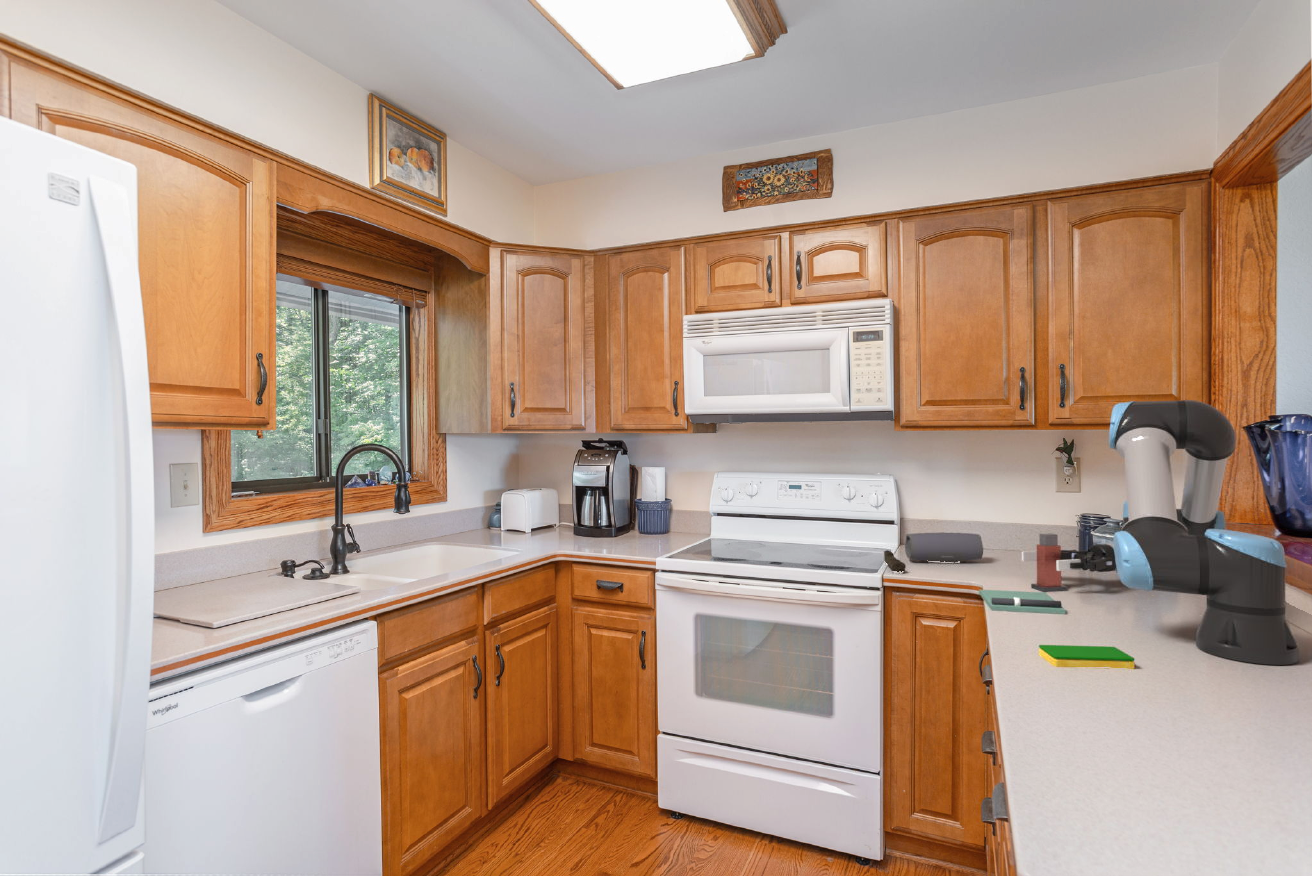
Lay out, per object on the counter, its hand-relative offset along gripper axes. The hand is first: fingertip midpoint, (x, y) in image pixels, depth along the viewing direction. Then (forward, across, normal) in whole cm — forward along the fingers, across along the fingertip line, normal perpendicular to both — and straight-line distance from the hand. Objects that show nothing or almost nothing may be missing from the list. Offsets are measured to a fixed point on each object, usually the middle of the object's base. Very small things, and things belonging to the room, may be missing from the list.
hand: (1039, 560), depth 186 cm
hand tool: (+24, +37, -8) cm, 45 cm away
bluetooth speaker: (+3, +41, -8) cm, 42 cm away
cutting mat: (+15, -12, -8) cm, 20 cm away
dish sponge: (+32, -53, -9) cm, 63 cm away
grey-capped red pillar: (-3, 0, -8) cm, 8 cm away
